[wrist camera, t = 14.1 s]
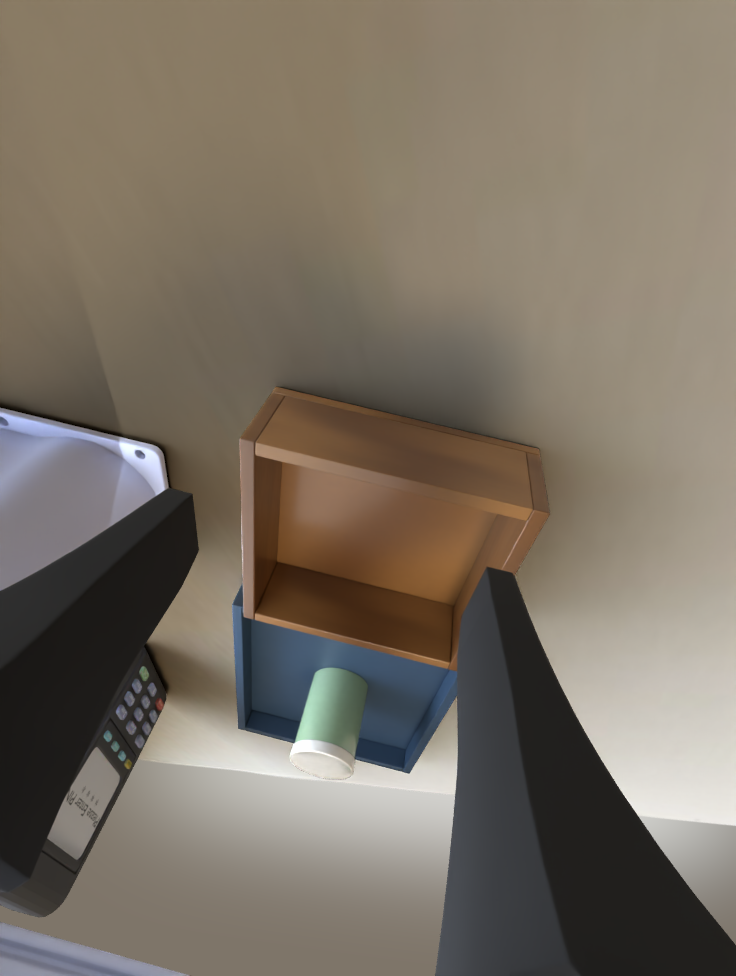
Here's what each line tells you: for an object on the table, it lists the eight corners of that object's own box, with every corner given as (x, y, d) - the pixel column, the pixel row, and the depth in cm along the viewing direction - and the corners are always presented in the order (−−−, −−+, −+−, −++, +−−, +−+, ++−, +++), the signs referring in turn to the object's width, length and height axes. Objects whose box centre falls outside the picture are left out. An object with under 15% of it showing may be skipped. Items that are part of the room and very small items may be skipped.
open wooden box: (269, 559, 27) (243, 617, 24) (275, 385, 20) (238, 438, 17) (461, 606, 27) (459, 672, 24) (539, 448, 19) (550, 513, 16)
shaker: (310, 689, 35) (287, 769, 31) (315, 661, 32) (290, 744, 28) (364, 703, 35) (348, 785, 31) (373, 676, 32) (357, 762, 28)
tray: (247, 704, 40) (237, 728, 38) (244, 577, 29) (231, 604, 27) (412, 747, 39) (409, 773, 38) (475, 635, 28) (474, 666, 27)
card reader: (177, 697, 42) (62, 925, 30) (134, 688, 42) (5, 909, 31) (150, 639, 36) (-4, 894, 24) (101, 629, 36) (-73, 875, 25)
